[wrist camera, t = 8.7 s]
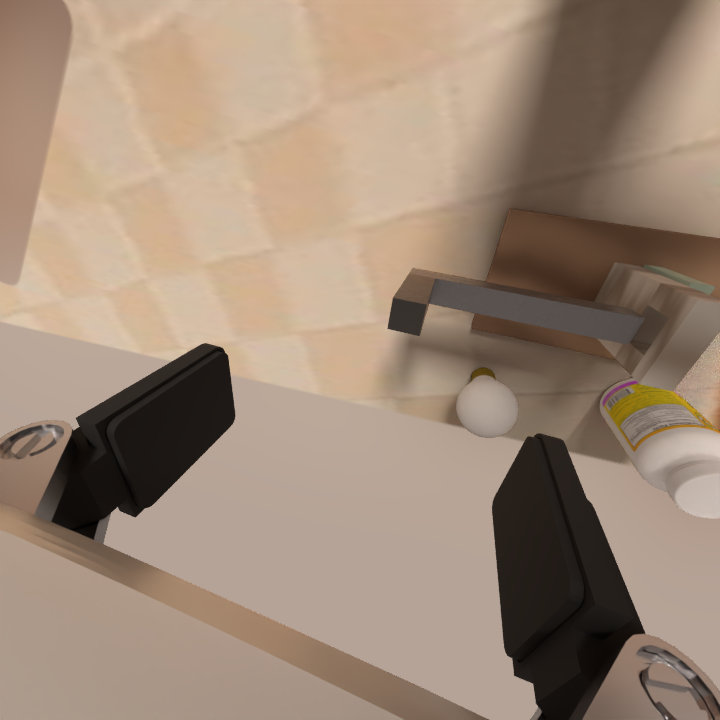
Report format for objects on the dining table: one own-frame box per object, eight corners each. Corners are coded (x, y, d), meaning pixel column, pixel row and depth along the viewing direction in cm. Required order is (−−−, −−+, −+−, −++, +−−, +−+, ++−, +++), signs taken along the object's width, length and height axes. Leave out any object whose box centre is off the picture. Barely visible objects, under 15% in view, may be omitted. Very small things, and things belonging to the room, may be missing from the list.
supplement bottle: (669, 423, 34) (766, 532, 23) (596, 425, 36) (653, 524, 25) (677, 371, 31) (791, 465, 20) (598, 377, 34) (663, 464, 23)
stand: (509, 208, 29) (537, 217, 18) (764, 244, 25) (985, 282, 14) (471, 325, 35) (475, 382, 24) (672, 368, 31) (781, 458, 21)
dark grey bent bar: (412, 267, 25) (393, 297, 18) (631, 308, 22) (712, 364, 15) (408, 291, 26) (387, 328, 19) (616, 333, 23) (685, 396, 16)
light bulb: (490, 342, 35) (499, 389, 27) (519, 380, 36) (536, 436, 28) (447, 368, 38) (443, 417, 30) (475, 401, 39) (478, 458, 31)
